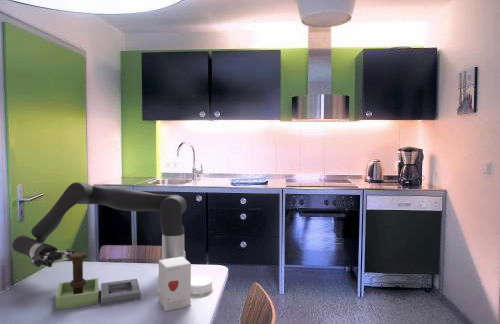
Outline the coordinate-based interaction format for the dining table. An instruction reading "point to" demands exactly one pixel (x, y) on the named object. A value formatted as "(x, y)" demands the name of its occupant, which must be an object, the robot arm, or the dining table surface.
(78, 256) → the bolt
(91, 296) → the tray
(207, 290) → the white round disc
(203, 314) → the dining table surface
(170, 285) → the supplement box
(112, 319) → the dining table surface
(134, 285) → the square frame
